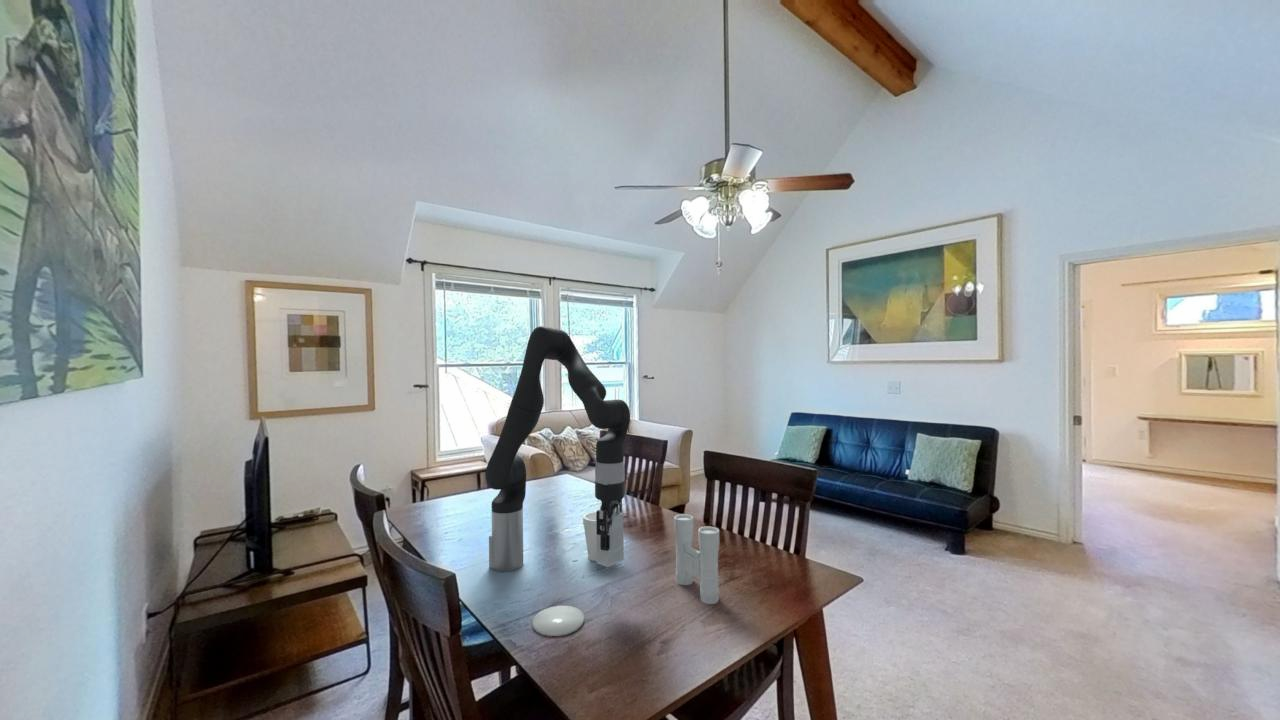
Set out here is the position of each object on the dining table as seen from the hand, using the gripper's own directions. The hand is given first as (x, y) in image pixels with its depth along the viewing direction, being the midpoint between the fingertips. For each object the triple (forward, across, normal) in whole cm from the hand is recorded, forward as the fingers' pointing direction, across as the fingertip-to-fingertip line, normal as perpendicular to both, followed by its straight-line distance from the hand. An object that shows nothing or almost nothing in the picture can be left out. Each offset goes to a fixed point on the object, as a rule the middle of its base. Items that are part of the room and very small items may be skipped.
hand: (609, 543), depth 120 cm
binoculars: (+16, -13, +20) cm, 29 cm away
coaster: (+16, +10, -10) cm, 21 cm away
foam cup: (+16, -28, -13) cm, 35 cm away
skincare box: (+5, 0, 0) cm, 5 cm away
